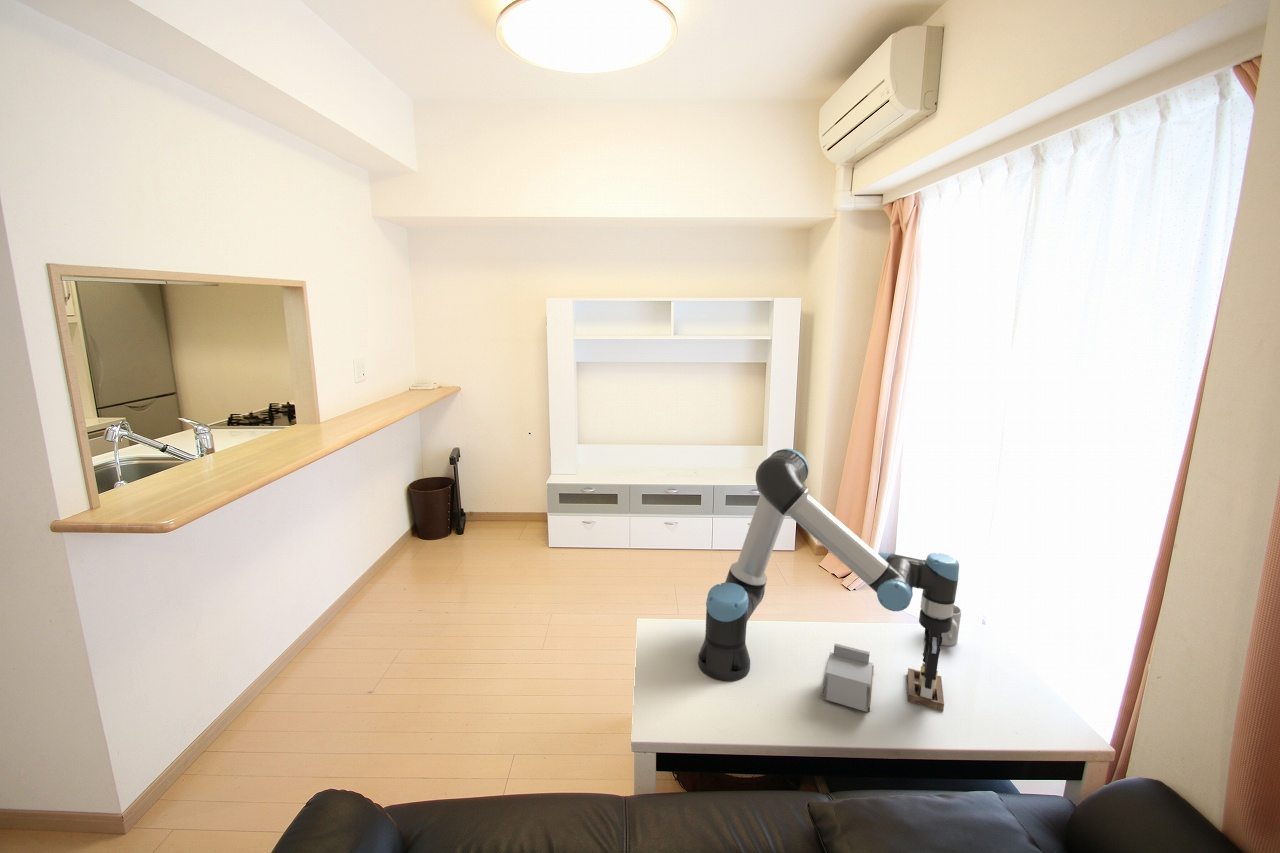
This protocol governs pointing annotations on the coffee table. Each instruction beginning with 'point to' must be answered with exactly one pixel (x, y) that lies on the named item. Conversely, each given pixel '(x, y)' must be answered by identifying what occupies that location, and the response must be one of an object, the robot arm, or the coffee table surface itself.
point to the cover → (848, 677)
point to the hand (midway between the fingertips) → (925, 691)
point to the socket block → (913, 697)
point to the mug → (952, 629)
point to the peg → (921, 683)
